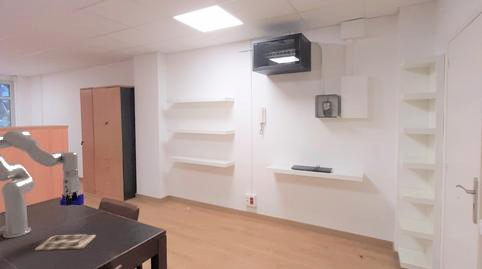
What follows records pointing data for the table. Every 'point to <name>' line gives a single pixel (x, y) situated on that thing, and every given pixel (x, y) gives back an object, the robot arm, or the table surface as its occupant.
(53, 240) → the clip cradle
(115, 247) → the table surface
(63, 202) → the blue curved piece
